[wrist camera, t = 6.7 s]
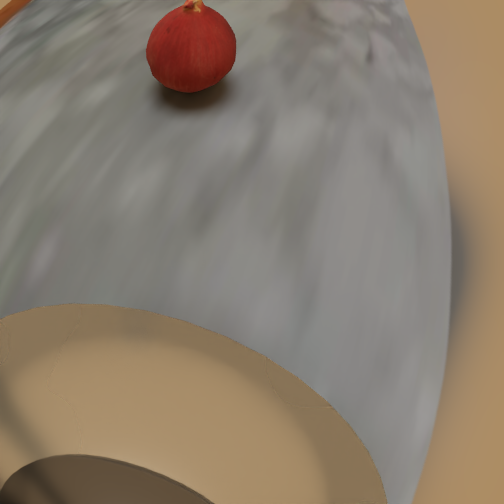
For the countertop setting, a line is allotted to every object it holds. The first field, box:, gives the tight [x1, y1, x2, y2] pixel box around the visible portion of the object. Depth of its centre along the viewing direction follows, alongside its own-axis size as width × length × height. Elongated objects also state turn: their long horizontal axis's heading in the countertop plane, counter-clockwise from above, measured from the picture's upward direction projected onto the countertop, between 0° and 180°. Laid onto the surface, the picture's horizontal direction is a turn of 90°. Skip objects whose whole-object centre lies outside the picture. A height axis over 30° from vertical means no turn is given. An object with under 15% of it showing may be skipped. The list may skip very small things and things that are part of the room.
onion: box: [146, 0, 236, 93], centre depth 17 cm, size 6×6×8 cm
